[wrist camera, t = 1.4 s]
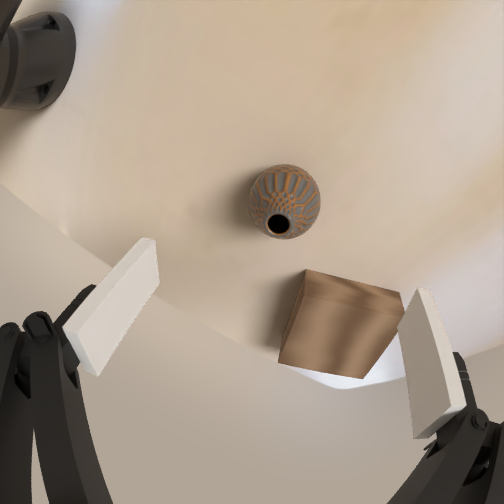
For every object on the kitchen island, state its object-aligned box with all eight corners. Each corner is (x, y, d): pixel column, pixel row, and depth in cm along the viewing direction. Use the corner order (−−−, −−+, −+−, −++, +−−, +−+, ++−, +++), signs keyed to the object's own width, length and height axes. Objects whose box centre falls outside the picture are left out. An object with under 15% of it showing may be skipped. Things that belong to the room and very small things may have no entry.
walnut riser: (282, 337, 43) (277, 362, 39) (306, 269, 36) (303, 295, 32) (361, 353, 42) (362, 379, 38) (399, 292, 35) (406, 318, 31)
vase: (254, 212, 34) (235, 253, 26) (258, 153, 30) (238, 179, 23) (314, 222, 33) (312, 266, 25) (324, 163, 29) (327, 192, 22)
